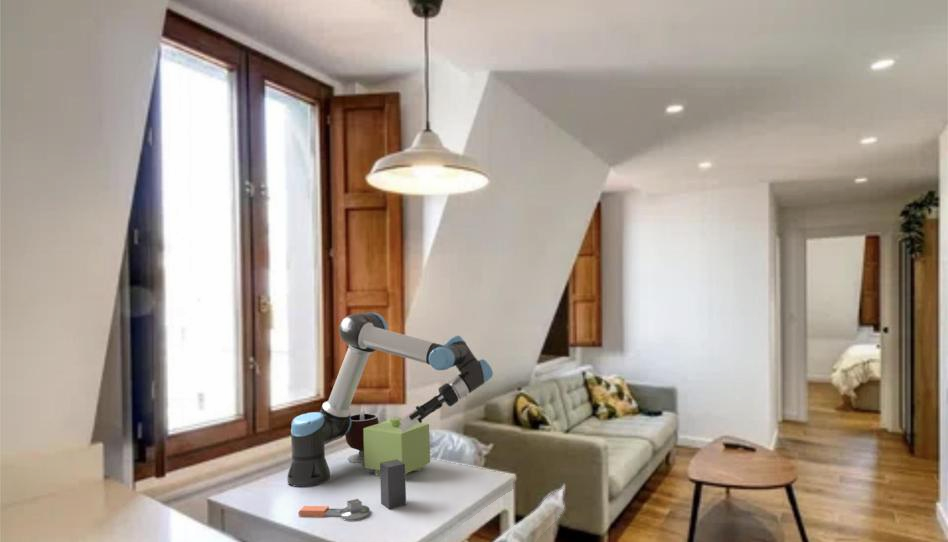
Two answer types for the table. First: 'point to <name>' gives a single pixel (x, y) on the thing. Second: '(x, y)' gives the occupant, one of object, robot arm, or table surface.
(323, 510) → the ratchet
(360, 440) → the mate gourd
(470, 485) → the table surface
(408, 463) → the container
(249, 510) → the table surface
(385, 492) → the dark grey block
